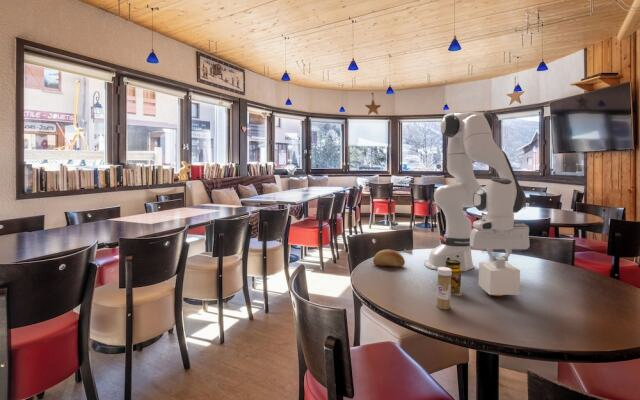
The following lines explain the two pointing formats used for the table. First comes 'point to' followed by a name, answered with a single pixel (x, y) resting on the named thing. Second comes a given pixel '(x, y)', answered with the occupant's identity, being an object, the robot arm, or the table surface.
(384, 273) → the table surface
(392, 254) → the bread roll
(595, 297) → the table surface
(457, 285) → the condiment
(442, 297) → the sprinkles bottle
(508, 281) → the white box
